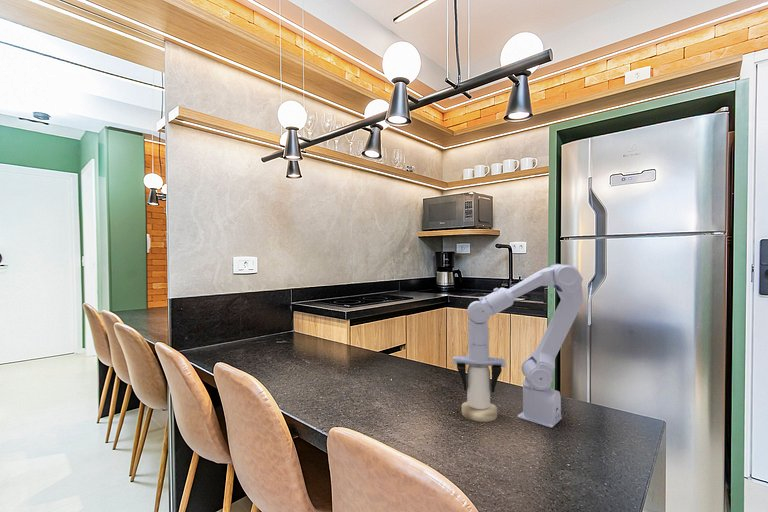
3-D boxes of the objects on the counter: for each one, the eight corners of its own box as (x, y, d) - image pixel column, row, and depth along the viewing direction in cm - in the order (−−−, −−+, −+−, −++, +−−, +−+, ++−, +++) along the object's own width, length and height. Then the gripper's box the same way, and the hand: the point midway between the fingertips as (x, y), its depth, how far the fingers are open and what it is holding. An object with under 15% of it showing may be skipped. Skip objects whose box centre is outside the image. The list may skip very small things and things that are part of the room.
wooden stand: (503, 413, 105) (503, 406, 105) (486, 425, 98) (486, 418, 98) (472, 404, 112) (472, 397, 112) (454, 414, 105) (454, 407, 105)
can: (464, 407, 105) (464, 365, 105) (470, 399, 111) (470, 360, 111) (487, 412, 102) (487, 369, 102) (492, 403, 108) (492, 363, 108)
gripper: (503, 341, 108) (503, 387, 108) (453, 339, 111) (453, 383, 111) (505, 346, 101) (506, 395, 101) (452, 344, 104) (453, 392, 104)
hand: (478, 390), depth 105 cm, fingers open, 7 cm apart
